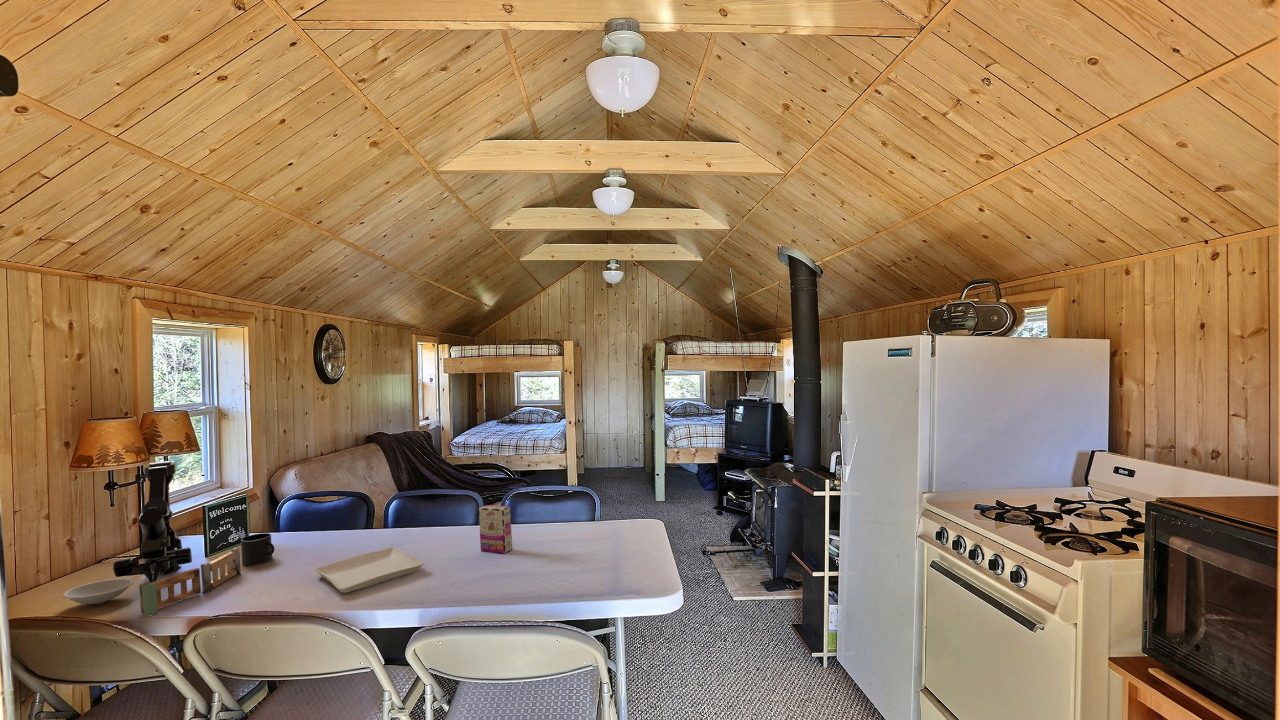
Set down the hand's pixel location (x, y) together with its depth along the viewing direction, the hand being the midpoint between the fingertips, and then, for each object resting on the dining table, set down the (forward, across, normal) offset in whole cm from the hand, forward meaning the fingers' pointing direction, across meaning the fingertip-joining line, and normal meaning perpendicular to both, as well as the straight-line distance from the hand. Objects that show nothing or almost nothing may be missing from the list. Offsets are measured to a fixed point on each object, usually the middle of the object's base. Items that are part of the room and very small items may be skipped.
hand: (153, 586), depth 179 cm
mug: (-13, +28, +22) cm, 38 cm away
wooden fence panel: (-2, +17, +11) cm, 20 cm away
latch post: (+9, 0, -1) cm, 9 cm away
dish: (-6, -14, +15) cm, 22 cm away
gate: (+5, +5, +2) cm, 7 cm away
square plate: (+18, +58, -8) cm, 61 cm away
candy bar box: (+22, +101, -14) cm, 104 cm away
